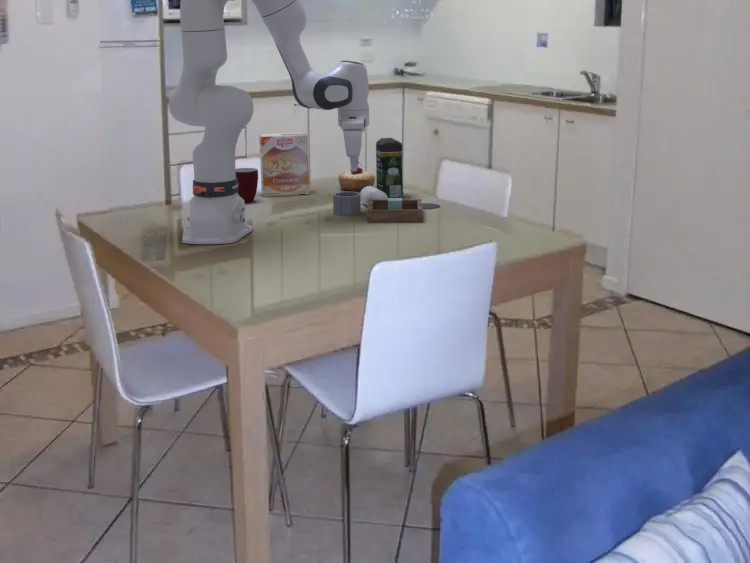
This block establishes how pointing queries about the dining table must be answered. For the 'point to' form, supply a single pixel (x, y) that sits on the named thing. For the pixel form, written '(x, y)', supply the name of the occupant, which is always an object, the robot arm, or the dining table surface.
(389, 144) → the coffee jar
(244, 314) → the dining table surface
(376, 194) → the white rounded lump
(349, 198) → the stoneware cup
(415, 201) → the walnut box
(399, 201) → the block
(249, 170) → the mug
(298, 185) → the coffeecake box
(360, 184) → the pastry
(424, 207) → the coaster
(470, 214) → the dining table surface
